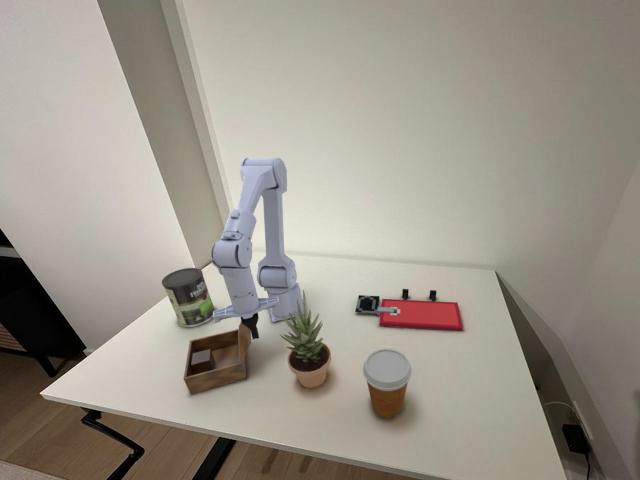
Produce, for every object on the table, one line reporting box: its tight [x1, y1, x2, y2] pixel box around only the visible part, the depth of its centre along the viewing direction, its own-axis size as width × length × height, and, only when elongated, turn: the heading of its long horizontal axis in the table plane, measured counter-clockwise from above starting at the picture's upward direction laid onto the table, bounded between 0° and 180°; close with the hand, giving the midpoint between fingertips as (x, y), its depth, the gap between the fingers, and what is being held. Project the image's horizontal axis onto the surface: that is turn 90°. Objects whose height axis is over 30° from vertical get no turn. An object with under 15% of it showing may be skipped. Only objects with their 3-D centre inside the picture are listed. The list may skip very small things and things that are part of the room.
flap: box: [238, 321, 253, 361], centre depth 76 cm, size 6×13×1 cm
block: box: [191, 349, 215, 375], centre depth 76 cm, size 4×4×4 cm
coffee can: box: [161, 267, 216, 328], centre depth 92 cm, size 10×10×14 cm
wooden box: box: [183, 328, 247, 395], centre depth 77 cm, size 12×13×5 cm
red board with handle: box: [354, 288, 464, 332], centre depth 93 cm, size 30×3×15 cm
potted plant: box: [279, 289, 332, 389], centre depth 68 cm, size 10×10×25 cm
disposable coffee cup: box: [362, 348, 413, 419], centre depth 64 cm, size 10×10×12 cm
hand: (255, 336), depth 78 cm, fingers closed, pressing on flap
